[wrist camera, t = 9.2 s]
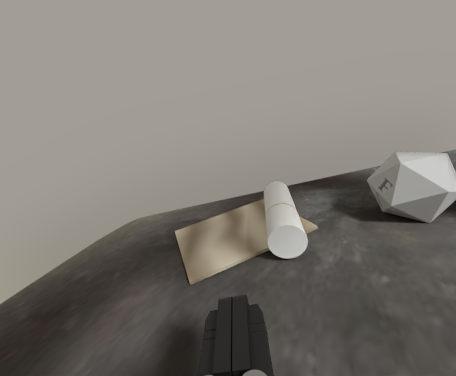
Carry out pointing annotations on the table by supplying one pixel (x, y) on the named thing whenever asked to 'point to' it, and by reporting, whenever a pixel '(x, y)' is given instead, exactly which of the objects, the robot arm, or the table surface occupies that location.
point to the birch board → (226, 240)
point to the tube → (283, 222)
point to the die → (415, 185)
